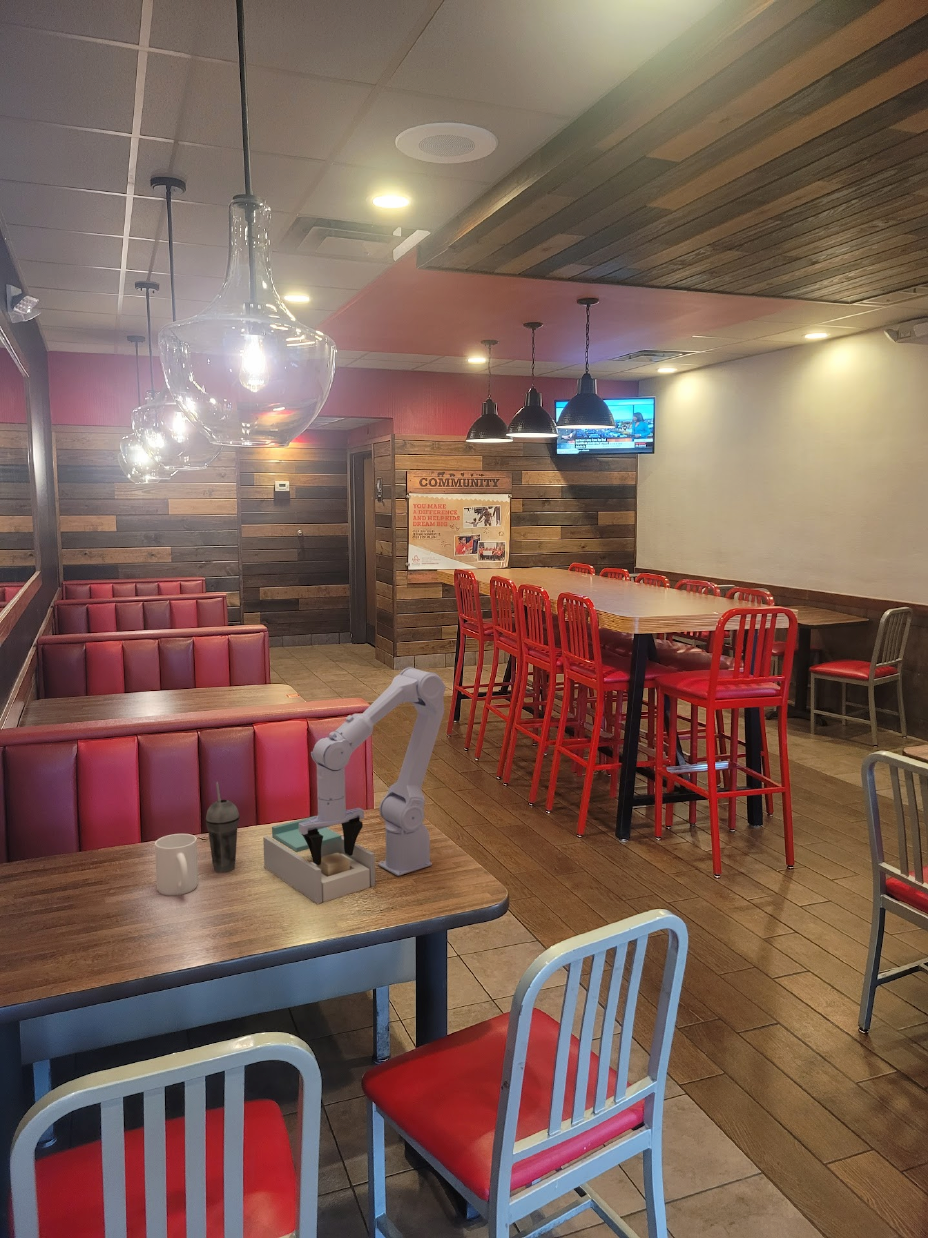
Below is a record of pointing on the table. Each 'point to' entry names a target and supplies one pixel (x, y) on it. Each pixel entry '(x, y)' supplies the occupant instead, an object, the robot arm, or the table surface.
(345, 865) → the peg
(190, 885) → the mug
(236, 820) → the beverage cup
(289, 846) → the lid
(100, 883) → the table surface
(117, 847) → the table surface
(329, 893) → the housing
